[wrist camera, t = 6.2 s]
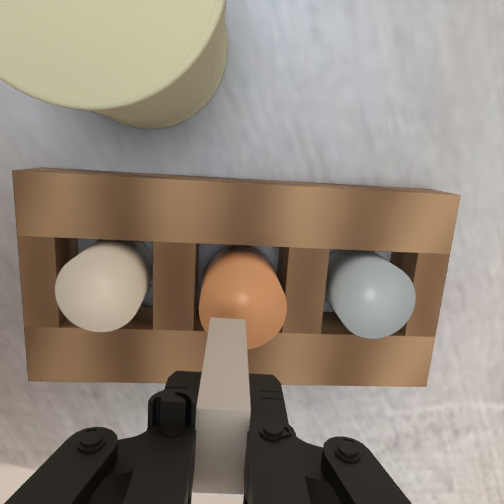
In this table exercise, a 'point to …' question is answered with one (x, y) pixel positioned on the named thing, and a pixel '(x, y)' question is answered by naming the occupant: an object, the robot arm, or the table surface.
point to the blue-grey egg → (368, 293)
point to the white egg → (105, 284)
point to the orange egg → (243, 293)
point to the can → (116, 55)
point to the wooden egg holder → (228, 233)
